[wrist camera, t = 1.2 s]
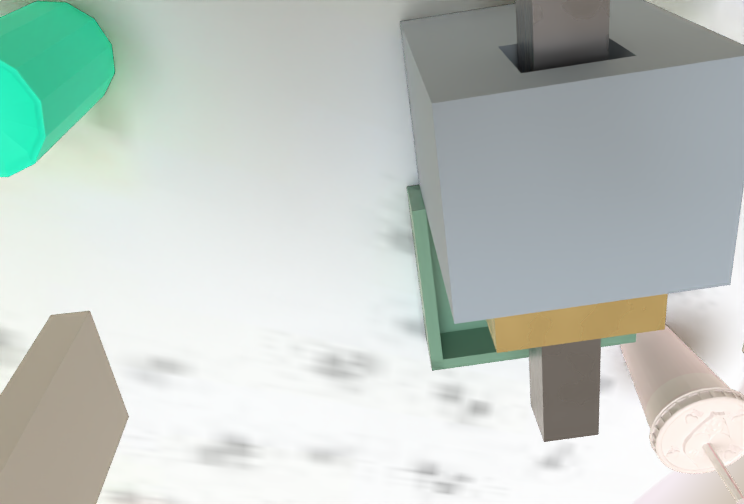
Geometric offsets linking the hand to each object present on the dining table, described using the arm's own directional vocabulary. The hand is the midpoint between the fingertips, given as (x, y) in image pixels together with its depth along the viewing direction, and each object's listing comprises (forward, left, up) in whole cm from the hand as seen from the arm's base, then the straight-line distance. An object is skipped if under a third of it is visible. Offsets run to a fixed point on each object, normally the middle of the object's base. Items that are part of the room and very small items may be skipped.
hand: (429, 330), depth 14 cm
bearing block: (+5, +8, -28) cm, 30 cm away
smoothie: (+25, +17, -29) cm, 41 cm away
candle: (-1, -17, -29) cm, 34 cm away
